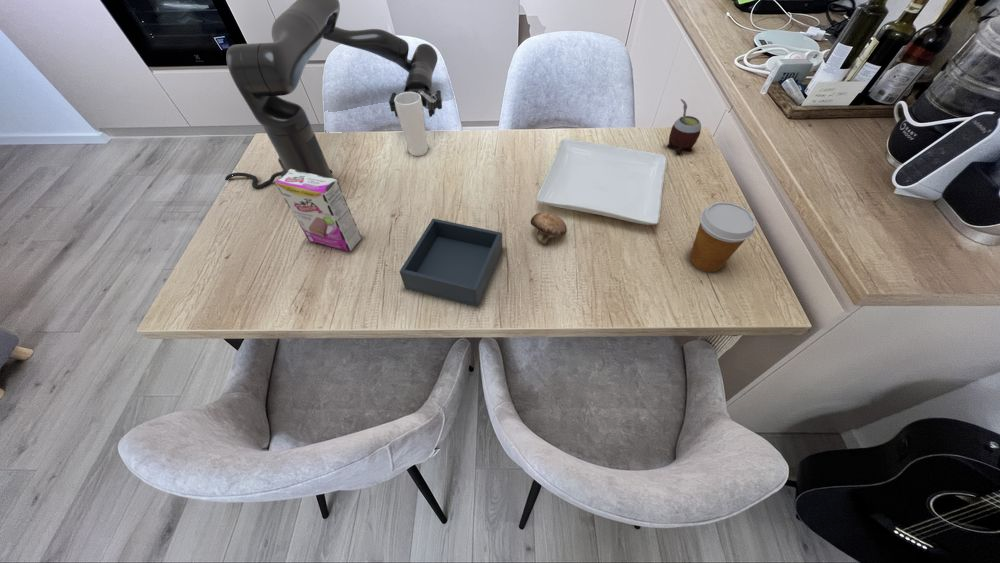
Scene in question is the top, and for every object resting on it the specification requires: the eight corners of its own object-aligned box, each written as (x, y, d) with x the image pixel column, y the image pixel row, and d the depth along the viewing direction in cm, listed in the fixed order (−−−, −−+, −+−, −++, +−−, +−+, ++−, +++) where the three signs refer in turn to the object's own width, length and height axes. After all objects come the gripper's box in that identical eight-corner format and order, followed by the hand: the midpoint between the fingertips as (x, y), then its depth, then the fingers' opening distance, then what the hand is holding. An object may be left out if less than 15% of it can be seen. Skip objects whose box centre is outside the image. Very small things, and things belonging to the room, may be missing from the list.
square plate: (654, 236, 86) (659, 223, 83) (534, 212, 93) (534, 198, 89) (664, 165, 102) (668, 152, 99) (560, 148, 108) (562, 135, 105)
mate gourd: (693, 144, 108) (715, 89, 96) (691, 160, 104) (714, 104, 92) (665, 139, 110) (683, 84, 98) (662, 154, 105) (680, 99, 94)
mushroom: (536, 245, 81) (546, 215, 79) (519, 233, 88) (527, 206, 86) (567, 250, 85) (577, 222, 83) (548, 239, 92) (556, 213, 90)
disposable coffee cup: (725, 285, 78) (754, 242, 68) (676, 267, 81) (697, 224, 71) (733, 253, 83) (761, 209, 73) (687, 238, 86) (708, 194, 76)
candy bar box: (307, 242, 88) (272, 182, 75) (321, 228, 91) (289, 167, 78) (350, 253, 86) (322, 193, 73) (363, 238, 88) (337, 177, 76)
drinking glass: (426, 159, 107) (415, 105, 95) (402, 157, 108) (389, 103, 96) (434, 145, 111) (424, 92, 99) (411, 143, 112) (399, 90, 100)
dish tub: (405, 288, 79) (399, 271, 75) (436, 235, 88) (432, 218, 84) (478, 307, 76) (475, 290, 72) (502, 250, 85) (502, 232, 81)
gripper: (444, 97, 119) (442, 126, 109) (397, 100, 119) (390, 128, 109) (441, 71, 113) (438, 99, 103) (391, 74, 113) (383, 102, 103)
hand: (414, 114), depth 106 cm, fingers open, 8 cm apart
